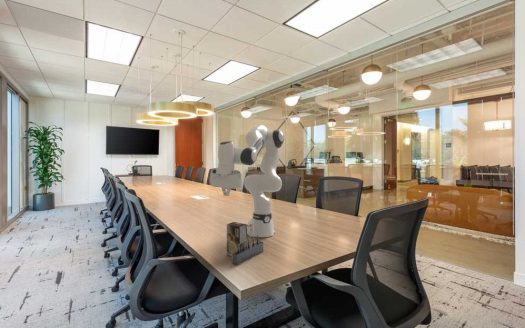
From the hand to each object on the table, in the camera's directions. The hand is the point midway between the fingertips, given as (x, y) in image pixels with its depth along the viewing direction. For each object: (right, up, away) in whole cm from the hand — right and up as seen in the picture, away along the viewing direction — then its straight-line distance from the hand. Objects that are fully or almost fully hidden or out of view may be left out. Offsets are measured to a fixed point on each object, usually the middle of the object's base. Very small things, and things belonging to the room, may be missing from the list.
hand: (226, 195), depth 143 cm
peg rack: (+13, -30, -12) cm, 35 cm away
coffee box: (+7, -30, -9) cm, 32 cm away
